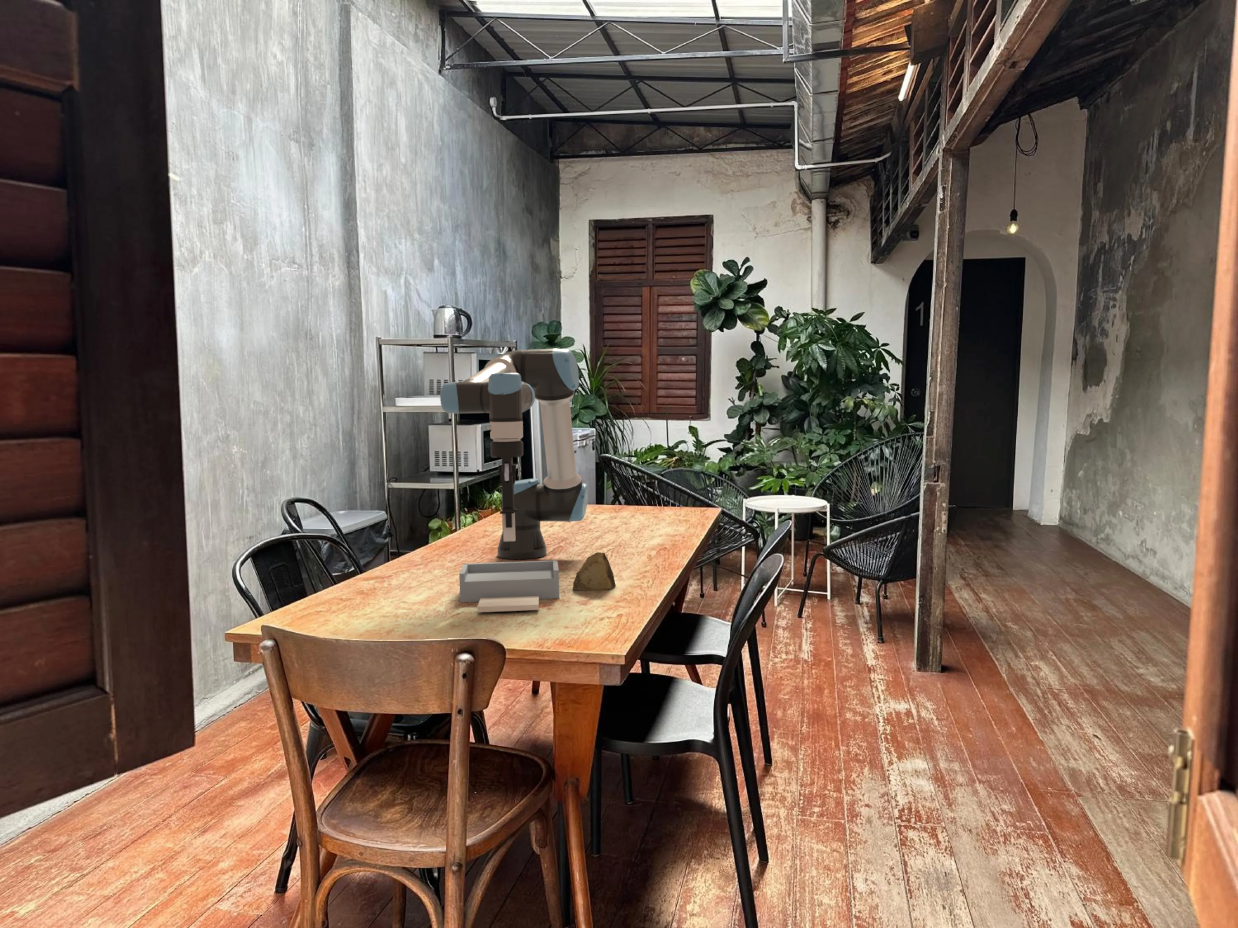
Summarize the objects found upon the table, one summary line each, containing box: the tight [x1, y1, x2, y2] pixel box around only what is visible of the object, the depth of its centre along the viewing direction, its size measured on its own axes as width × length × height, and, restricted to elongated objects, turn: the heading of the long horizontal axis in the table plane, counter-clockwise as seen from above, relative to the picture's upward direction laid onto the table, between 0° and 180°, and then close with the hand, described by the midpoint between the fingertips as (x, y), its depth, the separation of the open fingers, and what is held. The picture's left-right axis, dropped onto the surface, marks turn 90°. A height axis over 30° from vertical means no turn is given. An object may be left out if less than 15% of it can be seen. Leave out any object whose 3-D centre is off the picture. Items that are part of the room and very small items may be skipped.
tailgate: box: [476, 596, 540, 613], centre depth 199 cm, size 1×14×11 cm
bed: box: [458, 559, 560, 603], centre depth 212 cm, size 12×24×7 cm, turn 96°
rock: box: [572, 551, 617, 591], centre depth 218 cm, size 11×9×10 cm
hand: (509, 540), depth 198 cm, fingers closed
